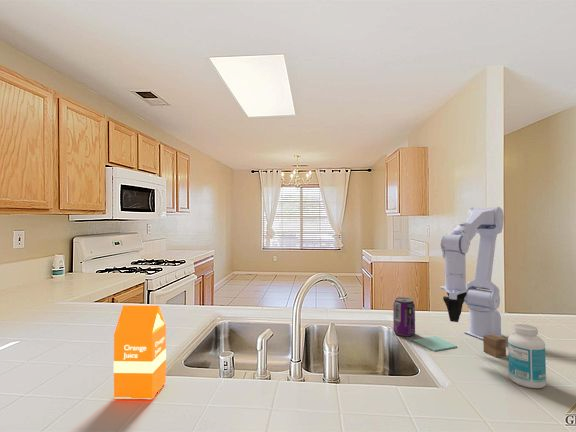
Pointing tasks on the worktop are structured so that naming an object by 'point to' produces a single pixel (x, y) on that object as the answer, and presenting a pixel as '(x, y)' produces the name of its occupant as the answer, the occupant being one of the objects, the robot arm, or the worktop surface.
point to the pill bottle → (527, 357)
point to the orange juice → (139, 352)
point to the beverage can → (404, 316)
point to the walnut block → (495, 345)
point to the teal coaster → (435, 343)
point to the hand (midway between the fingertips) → (455, 318)
